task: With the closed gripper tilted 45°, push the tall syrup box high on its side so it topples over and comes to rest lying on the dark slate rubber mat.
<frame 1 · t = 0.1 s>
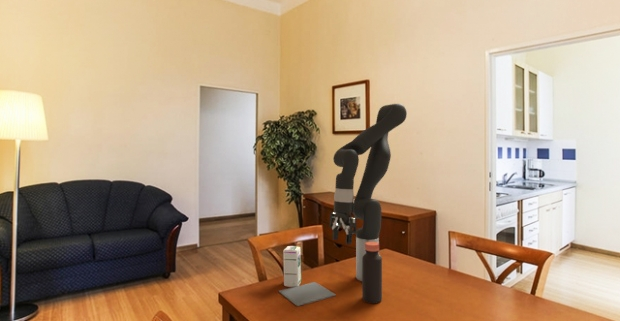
hand: (341, 241, 131), 17 cm above the table, tool pointing down, fingers open, 8 cm apart
bottle: (372, 300, 119), on the table
slate mat: (306, 293, 124), on the table
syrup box: (292, 284, 133), on the table
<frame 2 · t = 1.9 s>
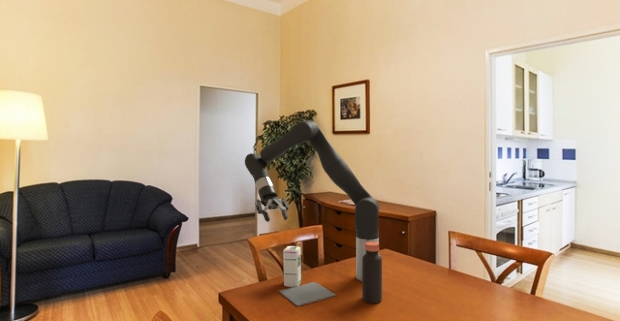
hand: (277, 219, 142), 24 cm above the table, tool tilted 40°, fingers open, 8 cm apart
nothing on the table moved.
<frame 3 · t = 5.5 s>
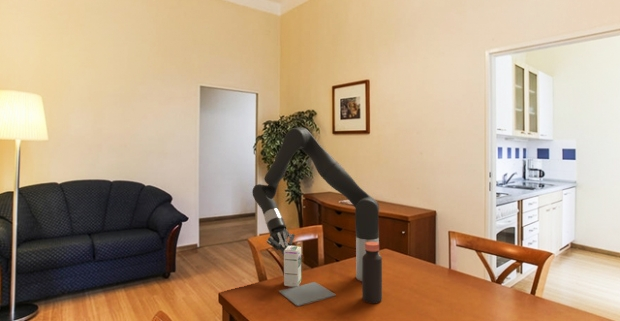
hand: (287, 256, 136), 10 cm above the table, tool tilted 45°, fingers closed
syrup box: (292, 284, 133), on the table, touching gripper
everything else where it was.
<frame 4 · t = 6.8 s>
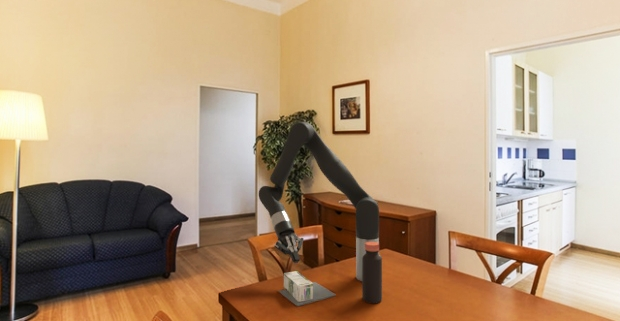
hand: (296, 261, 130), 10 cm above the table, tool tilted 45°, fingers closed
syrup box: (289, 278, 130), point 3 cm above the table, touching slate mat
everything else where it was.
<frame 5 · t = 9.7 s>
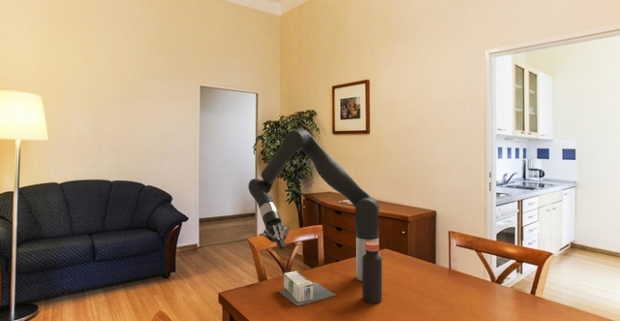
hand: (282, 248, 140), 12 cm above the table, tool tilted 45°, fingers closed
nothing on the table moved.
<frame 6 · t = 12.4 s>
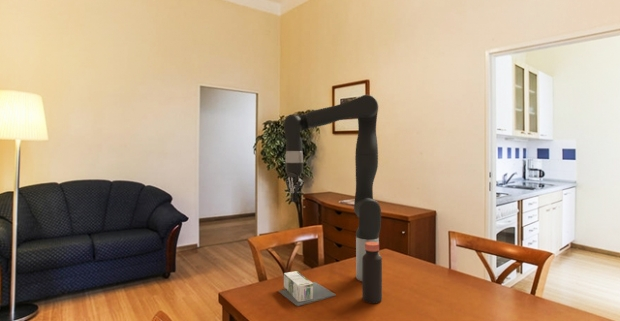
hand: (294, 201, 145), 31 cm above the table, tool pointing down, fingers closed
nothing on the table moved.
at the end: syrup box tilted 90°; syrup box touching slate mat; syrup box inside the target area (3.0 cm from its centre), point 3.3 cm above the table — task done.
